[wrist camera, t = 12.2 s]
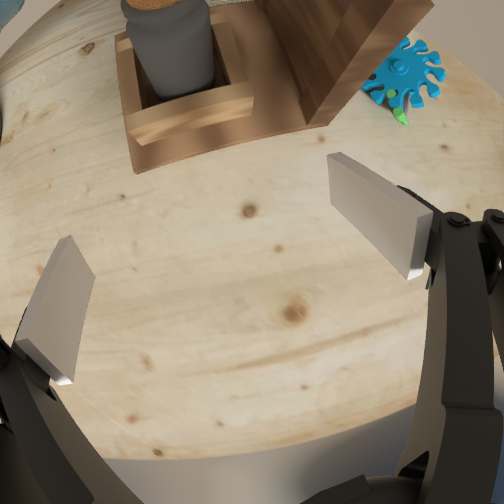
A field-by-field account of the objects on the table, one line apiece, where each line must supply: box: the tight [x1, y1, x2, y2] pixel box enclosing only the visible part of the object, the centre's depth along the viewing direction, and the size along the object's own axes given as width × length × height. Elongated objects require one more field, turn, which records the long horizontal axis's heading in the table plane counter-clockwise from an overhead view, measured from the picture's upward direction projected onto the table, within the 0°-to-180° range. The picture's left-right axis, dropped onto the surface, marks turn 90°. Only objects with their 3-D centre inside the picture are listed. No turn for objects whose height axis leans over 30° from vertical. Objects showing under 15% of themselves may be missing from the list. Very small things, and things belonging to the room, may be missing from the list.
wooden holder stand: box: [115, 0, 435, 174], centre depth 16 cm, size 19×18×19 cm
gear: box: [361, 37, 446, 125], centre depth 25 cm, size 11×6×10 cm
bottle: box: [121, 0, 215, 103], centre depth 17 cm, size 6×6×15 cm
